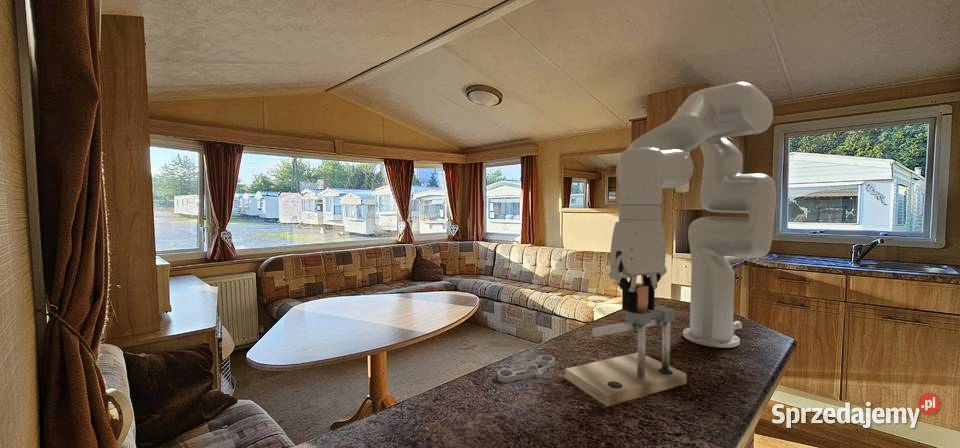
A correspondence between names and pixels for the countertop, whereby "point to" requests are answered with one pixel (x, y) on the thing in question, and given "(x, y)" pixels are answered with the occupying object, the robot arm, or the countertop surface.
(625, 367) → the board
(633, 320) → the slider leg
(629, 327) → the frame
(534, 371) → the bracket
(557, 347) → the countertop surface
